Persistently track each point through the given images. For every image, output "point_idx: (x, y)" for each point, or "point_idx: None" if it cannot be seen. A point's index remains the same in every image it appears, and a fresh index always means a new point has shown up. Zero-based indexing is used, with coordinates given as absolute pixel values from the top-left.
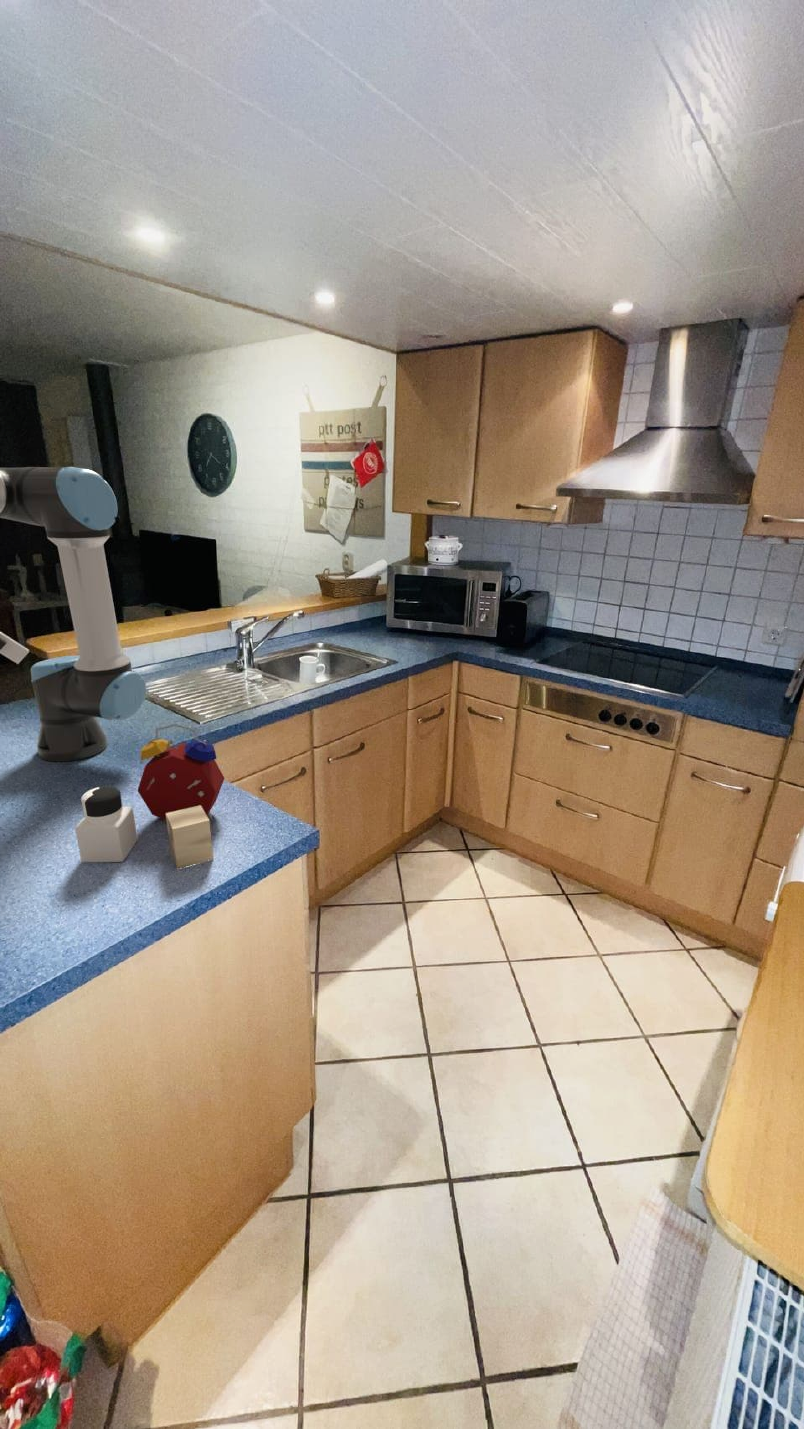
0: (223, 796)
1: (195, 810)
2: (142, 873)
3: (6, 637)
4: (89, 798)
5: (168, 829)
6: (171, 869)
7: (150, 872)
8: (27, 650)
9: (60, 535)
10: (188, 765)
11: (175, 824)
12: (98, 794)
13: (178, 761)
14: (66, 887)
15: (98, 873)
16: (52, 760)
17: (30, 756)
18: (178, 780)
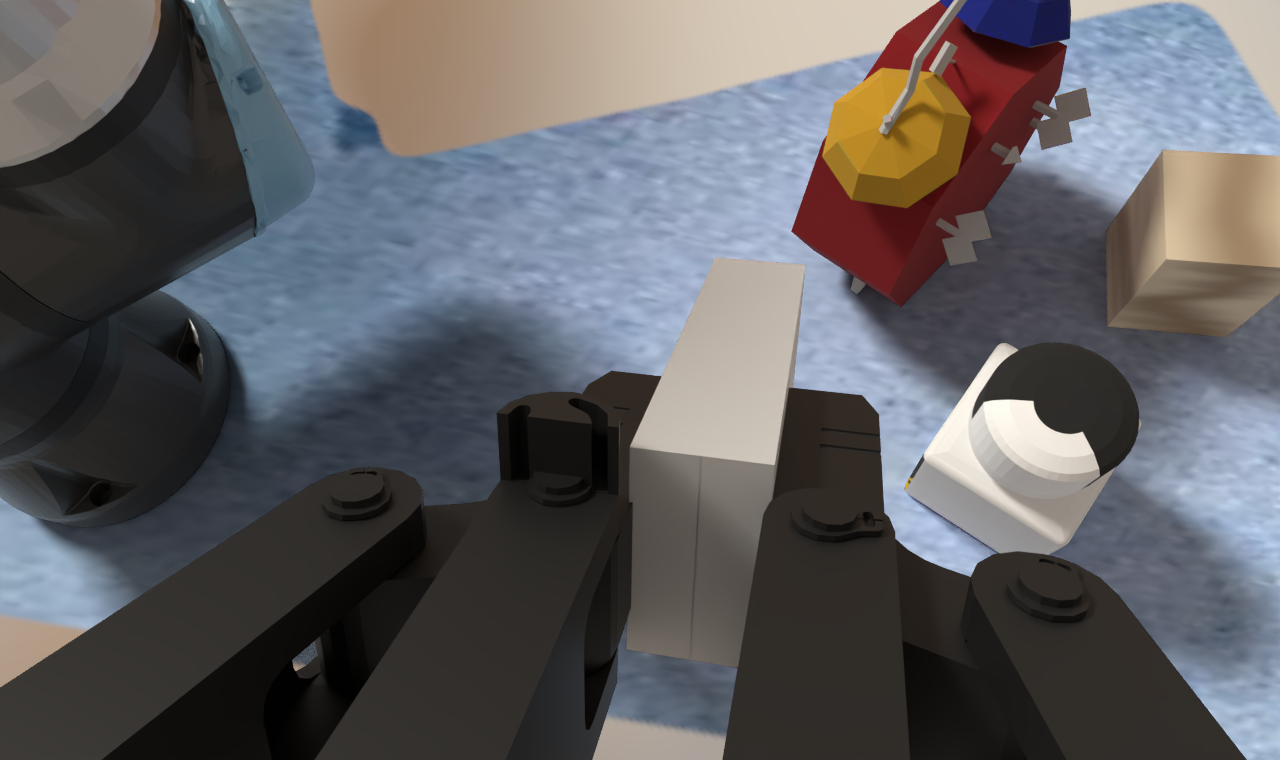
0: (831, 101)
1: (1195, 174)
2: (1194, 428)
3: (791, 358)
4: (1102, 452)
5: (1163, 286)
6: (1215, 352)
7: (1200, 407)
8: (790, 268)
9: None
10: (1038, 78)
11: (1275, 253)
12: (1092, 415)
13: (1020, 94)
14: (1158, 642)
15: (1121, 539)
16: (170, 493)
17: (61, 554)
18: (993, 153)
